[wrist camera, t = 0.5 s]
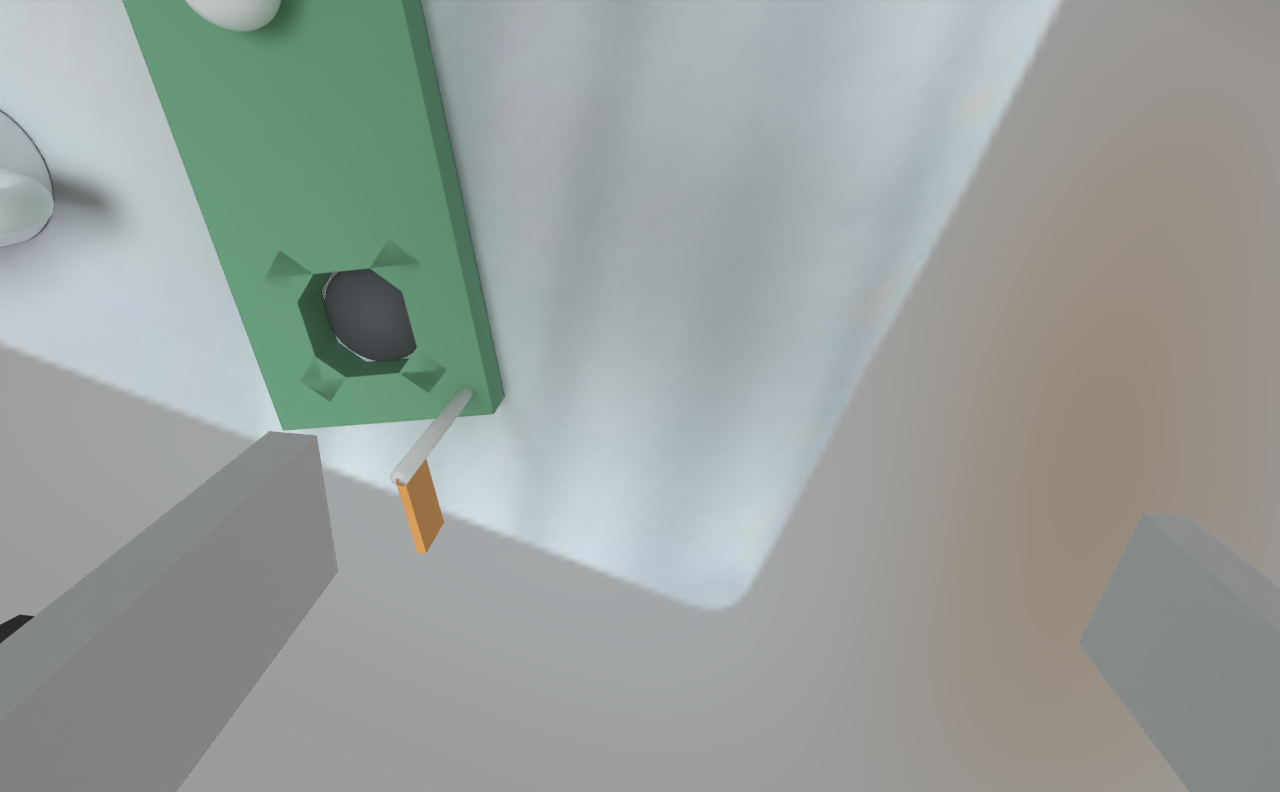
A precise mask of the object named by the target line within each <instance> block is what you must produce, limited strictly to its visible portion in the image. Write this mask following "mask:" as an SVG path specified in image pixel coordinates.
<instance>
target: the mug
mask: <svg viewBox="0 0 1280 792" xmlns="http://www.w3.org/2000/svg"><path fill="white" fill-rule="evenodd" d="M53 209H54V201H53V193H52V184H51V180H50V177H49V173H48V170H47V168H46V166H45V163H44V161H43V159H42V157H41V155H40V153H39V152H38V150H37V149H36V147H35V145H34V144H33V142H32V141H31V140H30V139H29V137H28V136H27V135H26V134H25V133H24V131H23V130H22V129H21V128H20V127H19V126H18V125H17V124H16V123H15V122H13V121H12V120H11V119H10V118H9V117H8V116H6V115H5V114H4V113H2V112H1V111H0V247H1V246H7V245H12V244H17V243H21V242H24V241H27V240H29V239H31V238H32V237H33V236H35V235H36V234H37V233H39V232H40V231H41V230H42V228H43V227H44V226H45V224H46V223H47V221H48V219H49V218H50V217H51V215H52V214H53Z"/></svg>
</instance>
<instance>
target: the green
mask: <svg viewBox="0 0 1280 792" xmlns="http://www.w3.org/2000/svg"><path fill="white" fill-rule="evenodd" d="M123 3H124V6H125V8H126V11H127V14H128V16H129V19H130V22H131V24H132V27H133V30H134V32H135V35H136V38H137V40H138V43H139V46H140V49H141V51H142V54H143V57H144V59H145V62H146V65H147V67H148V70H149V73H150V75H151V78H152V81H153V83H154V86H155V89H156V91H157V94H158V97H159V99H160V102H161V105H162V107H163V110H164V113H165V115H166V118H167V121H168V124H169V126H170V129H171V132H172V134H173V137H174V140H175V142H176V145H177V148H178V150H179V153H180V156H181V158H182V161H183V164H184V166H185V169H186V172H187V174H188V177H189V180H190V182H191V185H192V188H193V190H194V193H195V196H196V199H197V201H198V204H199V207H200V209H201V212H202V215H203V217H204V220H205V223H206V225H207V228H208V231H209V233H210V236H211V239H212V241H213V244H214V247H215V249H216V252H217V255H218V257H219V260H220V263H221V265H222V268H223V271H224V273H225V276H226V279H227V282H228V284H229V287H230V290H231V292H232V295H233V298H234V300H235V303H236V306H237V308H238V311H239V314H240V316H241V319H242V322H243V324H244V327H245V330H246V332H247V335H248V338H249V340H250V343H251V346H252V348H253V351H254V354H255V357H256V359H257V362H258V365H259V367H260V370H261V373H262V375H263V378H264V381H265V383H266V386H267V389H268V391H269V394H270V397H271V399H272V402H273V405H274V407H275V410H276V413H277V415H278V418H279V421H280V423H281V426H282V429H283V430H296V429H309V428H321V427H334V426H347V425H360V424H372V423H385V422H398V421H411V420H423V419H435V420H434V421H433V423H432V424H431V425H430V426H429V428H428V429H427V430H426V431H425V432H424V434H423V435H422V436H421V437H420V439H419V440H418V441H417V442H416V444H415V445H414V446H413V447H412V448H411V450H410V451H409V452H408V453H407V455H406V456H405V457H404V458H403V460H402V461H401V462H400V463H399V465H398V466H397V467H396V468H395V469H394V471H393V472H392V473H391V475H390V479H391V481H392V482H393V483H394V484H395V485H397V487H398V490H399V494H400V497H401V500H402V503H403V507H404V510H405V513H406V517H407V520H408V523H409V526H410V530H411V533H412V536H413V539H414V543H415V546H416V549H417V553H418V554H420V553H426V552H427V551H428V549H429V547H430V546H431V544H432V542H433V541H434V539H435V537H436V535H437V534H438V532H439V530H440V528H441V527H442V525H443V523H444V521H443V518H442V514H441V510H440V507H439V503H438V500H437V496H436V492H435V489H434V485H433V482H432V478H431V474H430V471H429V467H428V464H427V460H426V458H427V456H428V455H429V454H430V452H431V451H432V450H433V448H434V447H435V446H436V444H437V443H438V442H439V440H440V439H441V438H442V436H443V435H444V434H445V432H446V431H447V429H448V428H449V427H450V425H451V424H452V423H453V421H454V420H455V419H456V417H462V416H475V415H487V414H494V413H495V411H496V409H497V408H498V406H499V405H500V403H501V401H502V400H503V398H504V392H503V388H502V383H501V378H500V373H499V369H498V364H497V359H496V355H495V350H494V345H493V340H492V336H491V331H490V326H489V322H488V317H487V312H486V308H485V303H484V298H483V293H482V289H481V284H480V279H479V275H478V270H477V265H476V260H475V256H474V251H473V246H472V242H471V237H470V232H469V228H468V223H467V218H466V213H465V209H464V204H463V199H462V195H461V190H460V185H459V180H458V176H457V171H456V166H455V162H454V157H453V152H452V148H451V143H450V138H449V133H448V129H447V124H446V119H445V115H444V110H443V105H442V100H441V96H440V91H439V86H438V82H437V77H436V72H435V68H434V63H433V58H432V53H431V49H430V44H429V39H428V35H427V30H426V25H425V20H424V16H423V11H422V6H421V2H420V0H281V3H280V7H279V9H278V11H277V13H276V15H275V16H274V18H273V19H272V20H271V21H270V22H269V23H268V24H266V25H265V26H263V27H261V28H259V29H256V30H252V31H243V32H242V31H232V30H228V29H224V28H222V27H219V26H216V25H215V24H213V23H211V22H209V21H207V20H206V19H204V18H203V17H201V16H200V15H199V14H198V13H197V12H195V11H194V10H193V9H192V8H191V7H190V6H189V5H188V4H187V2H186V1H185V0H123ZM332 272H338V273H337V274H336V275H335V276H334V277H333V279H332V280H331V281H330V283H329V285H328V288H327V291H326V296H325V302H324V299H323V296H322V293H321V290H322V288H323V286H324V285H325V283H326V281H327V280H328V278H329V276H330V275H331V273H332ZM334 333H335V334H336V336H337V337H338V338H339V339H340V340H341V342H342V343H343V344H345V345H346V346H347V347H348V348H349V349H351V350H352V351H353V352H355V353H357V354H358V355H361V356H363V357H365V358H368V359H371V360H376V361H375V362H365V361H363V360H362V359H361V358H359V357H358V356H356V355H355V354H353V353H352V352H350V351H349V350H347V349H346V348H345V347H343V346H342V345H340V344H339V343H337V340H336V337H335V334H334ZM414 350H415V351H414ZM413 351H414V352H413ZM412 352H413V354H412V355H411V357H410V358H409V359H401V358H404V357H406V356H408V355H409V354H411V353H412Z"/></svg>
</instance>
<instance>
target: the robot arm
mask: <svg viewBox="0 0 1280 792" xmlns="http://www.w3.org/2000/svg"><path fill="white" fill-rule="evenodd" d="M337 572H338V568H337V562H336V555H335V549H334V543H333V537H332V530H331V524H330V517H329V511H328V504H327V498H326V492H325V485H324V479H323V473H322V466H321V460H320V453H319V447H318V441H317V436H314V435H304V434H293V433H282V432H272V431H269V432H268V433H267V434H266V435H264V436H263V437H262V438H260V439H259V440H258V441H257V442H255V443H254V444H253V445H252V446H250V447H249V448H248V449H247V450H245V451H244V452H243V453H241V454H240V455H239V456H238V457H236V458H235V459H234V460H233V461H231V462H230V463H229V464H227V465H226V466H225V467H224V468H222V469H221V470H220V471H219V472H217V473H216V474H215V475H214V476H212V477H211V478H210V479H208V480H207V481H206V482H205V483H203V484H202V485H201V486H200V487H198V488H197V489H196V490H194V491H193V492H192V493H191V494H189V495H188V496H187V497H186V498H185V499H183V500H182V501H181V502H179V503H178V504H177V505H175V506H174V507H173V508H172V509H170V510H169V511H168V512H167V513H165V514H164V515H163V516H161V517H160V518H159V519H158V520H156V521H155V522H154V523H153V524H151V525H150V526H149V527H148V528H146V529H145V530H144V531H143V532H141V533H140V534H139V535H137V536H136V537H135V538H134V539H132V540H131V541H130V542H129V543H127V544H126V545H125V546H124V547H122V548H121V549H120V550H119V551H117V552H116V553H115V554H113V555H112V556H111V557H110V558H108V559H107V560H106V561H105V562H103V563H102V564H101V565H99V566H98V567H97V568H96V569H94V570H93V571H92V572H90V573H89V574H88V575H87V576H85V577H84V578H83V579H82V580H80V581H79V582H78V583H77V584H75V585H74V586H73V587H71V588H70V589H69V590H68V591H66V592H65V593H64V594H63V595H61V596H60V597H59V598H58V599H56V600H55V601H54V602H52V603H51V604H50V605H49V606H47V607H46V608H45V609H43V610H42V611H41V612H40V613H39V614H37V615H36V616H27V615H18V616H16V617H15V618H12V619H11V620H9V621H7V622H5V623H3V624H1V625H0V792H177V790H178V789H179V788H180V786H181V785H182V783H183V782H184V781H185V779H186V778H187V777H188V775H189V774H190V773H191V771H192V770H193V768H194V767H195V766H196V764H197V763H198V762H199V760H200V759H201V757H202V756H203V755H204V753H205V752H206V751H207V749H208V748H209V747H210V745H211V744H212V742H213V741H214V740H215V739H216V737H217V736H218V734H219V733H220V732H221V730H222V729H223V728H224V726H225V725H226V723H227V722H228V721H229V719H230V718H231V717H232V715H233V714H234V712H235V711H236V710H237V709H238V707H239V706H240V704H241V703H242V702H243V700H244V699H245V697H246V696H247V695H248V693H249V692H250V691H251V689H252V688H253V687H254V685H255V684H256V683H257V681H258V680H259V679H260V677H261V676H262V674H263V673H264V672H265V670H266V669H267V668H268V666H269V665H270V663H271V662H272V661H273V659H274V658H275V657H276V655H277V654H278V653H279V651H280V650H281V649H282V647H283V646H284V644H285V643H286V642H287V640H288V639H289V637H290V636H291V635H292V634H293V632H294V631H295V630H296V628H297V627H298V625H299V624H300V622H301V621H302V620H303V618H304V617H305V616H306V615H307V613H308V612H309V610H310V609H311V608H312V606H313V605H314V604H315V602H316V601H317V600H318V598H319V597H320V595H321V594H322V593H323V591H324V590H325V589H326V587H327V586H328V585H329V583H330V582H331V580H332V579H333V578H334V576H335V575H336V574H337ZM1078 644H1079V645H1080V647H1081V648H1082V649H1083V651H1084V652H1085V653H1086V655H1087V656H1088V657H1089V659H1090V660H1091V661H1092V662H1093V664H1094V665H1095V667H1096V668H1097V669H1098V671H1099V672H1100V673H1101V675H1102V676H1103V677H1104V679H1105V680H1106V681H1107V682H1108V684H1109V685H1110V687H1111V688H1112V689H1113V690H1114V692H1115V693H1116V694H1117V696H1118V697H1119V698H1120V700H1121V701H1122V702H1123V704H1124V705H1125V706H1126V708H1127V709H1128V710H1129V712H1130V713H1131V714H1132V716H1133V717H1134V718H1135V719H1136V721H1137V722H1138V724H1139V725H1140V726H1141V728H1142V729H1143V730H1144V732H1145V733H1146V734H1147V735H1148V737H1149V738H1150V739H1151V741H1152V742H1153V744H1154V745H1155V746H1156V747H1157V749H1158V750H1159V751H1160V753H1161V754H1162V755H1163V757H1164V758H1165V759H1166V761H1167V762H1168V763H1169V765H1170V766H1171V767H1172V769H1173V770H1174V771H1175V773H1176V774H1177V775H1178V776H1179V778H1180V779H1181V781H1182V782H1183V783H1184V784H1185V786H1186V787H1187V788H1188V790H1189V791H1190V792H1280V587H1279V586H1278V585H1276V584H1275V583H1274V582H1272V581H1271V580H1270V579H1269V578H1268V577H1266V576H1265V575H1264V574H1262V573H1261V572H1260V571H1258V570H1257V569H1256V568H1255V567H1254V566H1252V565H1251V564H1250V563H1248V562H1247V561H1246V560H1244V559H1243V558H1242V557H1241V556H1240V555H1238V554H1237V553H1236V552H1235V551H1233V550H1232V549H1231V548H1229V547H1228V546H1227V545H1226V544H1224V543H1223V542H1222V541H1220V540H1219V539H1218V538H1217V537H1216V536H1214V535H1213V534H1212V533H1210V532H1209V531H1208V530H1207V529H1205V528H1204V527H1203V526H1201V525H1200V524H1199V523H1198V522H1196V521H1195V520H1194V519H1193V518H1188V517H1177V516H1167V515H1156V514H1146V513H1143V514H1142V515H1141V517H1140V519H1139V522H1138V524H1137V526H1136V528H1135V530H1134V532H1133V534H1132V536H1131V538H1130V540H1129V542H1128V544H1127V546H1126V548H1125V550H1124V552H1123V554H1122V556H1121V558H1120V560H1119V562H1118V564H1117V566H1116V568H1115V570H1114V572H1113V574H1112V576H1111V578H1110V580H1109V582H1108V584H1107V586H1106V588H1105V590H1104V592H1103V594H1102V596H1101V598H1100V600H1099V602H1098V604H1097V606H1096V608H1095V610H1094V612H1093V614H1092V616H1091V618H1090V620H1089V622H1088V624H1087V626H1086V628H1085V630H1084V633H1083V634H1082V637H1081V639H1080V640H1079V642H1078Z"/></svg>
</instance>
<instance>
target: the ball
mask: <svg viewBox="0 0 1280 792" xmlns="http://www.w3.org/2000/svg"><path fill="white" fill-rule="evenodd" d="M185 1H186V2H187V4H188V5H189V6H190V7H191V8H192V9H193V10H194V11H195V12H197V13H198V14H199V15H200V16H201V17H203V18H204V19H206V20H207V21H209V22H211V23H213V24H215V25H216V26H219V27H222V28H224V29H228V30H232V31H242V32H243V31H252V30H256V29H259V28H261V27H263V26H265V25H266V24H268V23H269V22H270V21H271V20H272V19H273V18H274V16H275V15H276V13H277V11H278V9H279V7H280V3H281V0H185Z"/></svg>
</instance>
